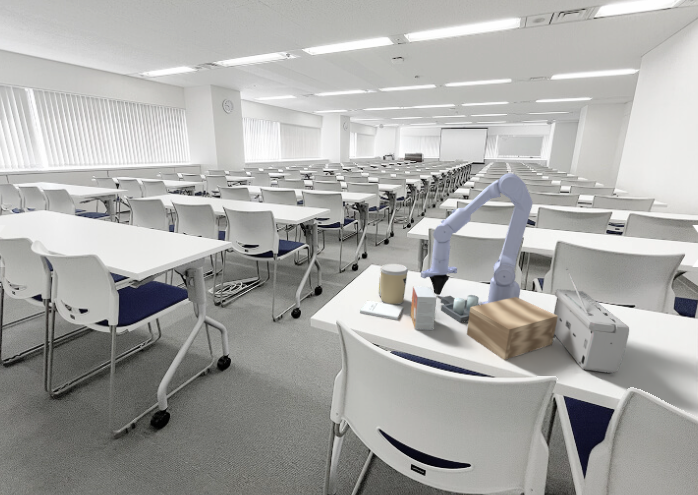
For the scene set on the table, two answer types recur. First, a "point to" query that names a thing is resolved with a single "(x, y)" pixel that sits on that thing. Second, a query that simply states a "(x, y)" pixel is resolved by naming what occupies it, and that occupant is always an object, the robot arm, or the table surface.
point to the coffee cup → (393, 283)
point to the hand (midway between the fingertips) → (437, 293)
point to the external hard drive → (381, 310)
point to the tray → (450, 309)
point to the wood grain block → (511, 327)
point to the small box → (423, 307)
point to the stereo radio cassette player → (589, 331)
